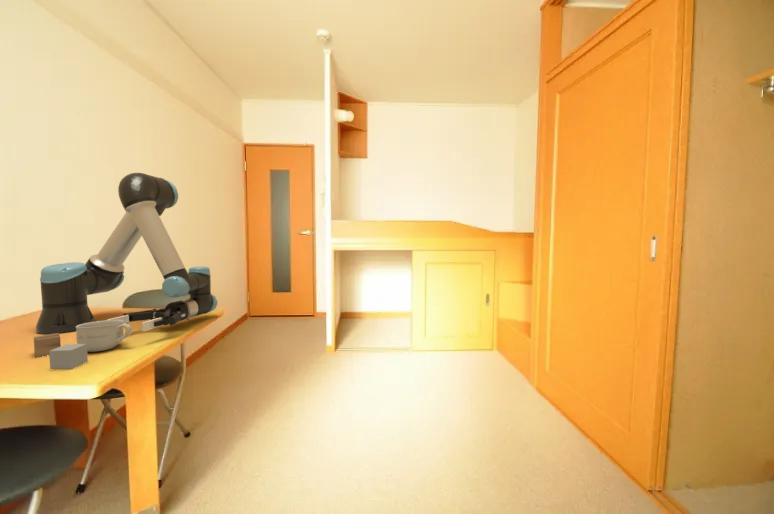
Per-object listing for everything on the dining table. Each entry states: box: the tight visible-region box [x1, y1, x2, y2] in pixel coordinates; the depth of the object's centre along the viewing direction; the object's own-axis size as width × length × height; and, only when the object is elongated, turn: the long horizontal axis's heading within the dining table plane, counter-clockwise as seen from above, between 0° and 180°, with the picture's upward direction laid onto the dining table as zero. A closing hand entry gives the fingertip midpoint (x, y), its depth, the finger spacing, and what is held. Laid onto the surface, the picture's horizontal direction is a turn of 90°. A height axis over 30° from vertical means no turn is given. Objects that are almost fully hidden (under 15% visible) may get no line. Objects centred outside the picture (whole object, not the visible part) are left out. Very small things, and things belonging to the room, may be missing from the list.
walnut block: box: [33, 333, 62, 359], centre depth 93 cm, size 5×5×5 cm
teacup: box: [75, 319, 132, 353], centre depth 97 cm, size 14×11×8 cm
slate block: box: [49, 343, 89, 370], centre depth 85 cm, size 5×5×5 cm
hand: (125, 325), depth 102 cm, fingers open, 13 cm apart
